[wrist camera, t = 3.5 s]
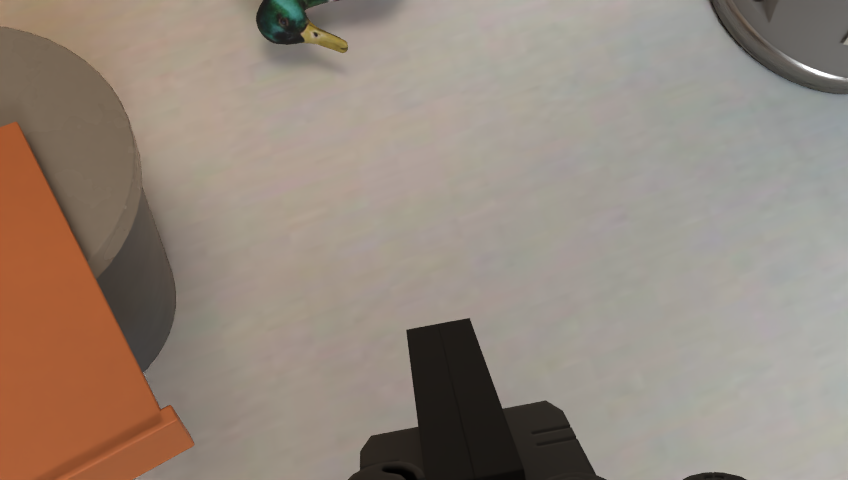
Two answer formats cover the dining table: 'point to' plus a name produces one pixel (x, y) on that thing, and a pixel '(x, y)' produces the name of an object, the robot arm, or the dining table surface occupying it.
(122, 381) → the lid slider
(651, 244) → the dining table surface
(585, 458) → the robot arm
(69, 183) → the travel mug
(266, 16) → the decorative duck model
